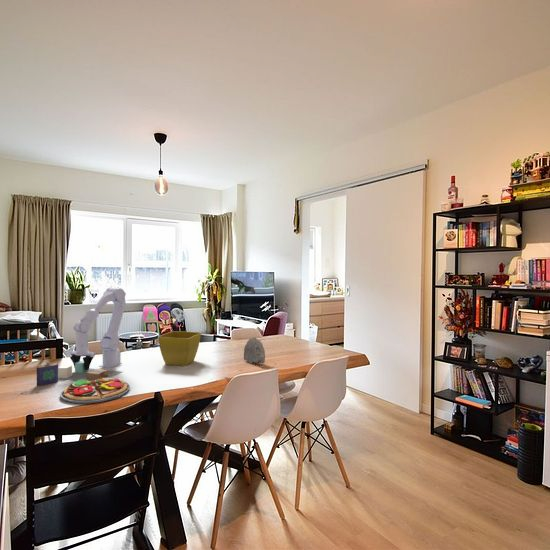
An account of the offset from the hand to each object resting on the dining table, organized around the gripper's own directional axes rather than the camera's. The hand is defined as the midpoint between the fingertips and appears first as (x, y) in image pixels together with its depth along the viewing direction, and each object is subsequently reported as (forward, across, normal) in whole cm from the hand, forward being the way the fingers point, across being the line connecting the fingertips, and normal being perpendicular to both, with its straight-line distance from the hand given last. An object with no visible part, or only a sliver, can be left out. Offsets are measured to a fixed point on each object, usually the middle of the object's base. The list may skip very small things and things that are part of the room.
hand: (81, 369), depth 192 cm
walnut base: (+1, +15, -6) cm, 16 cm away
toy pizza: (+2, +30, -24) cm, 38 cm away
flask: (+2, 0, -21) cm, 21 cm away
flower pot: (+2, +39, +33) cm, 51 cm away
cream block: (+1, -1, -10) cm, 10 cm away
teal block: (+1, 0, 0) cm, 1 cm away
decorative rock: (+2, +81, +46) cm, 93 cm away
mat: (+1, +9, -4) cm, 10 cm away
